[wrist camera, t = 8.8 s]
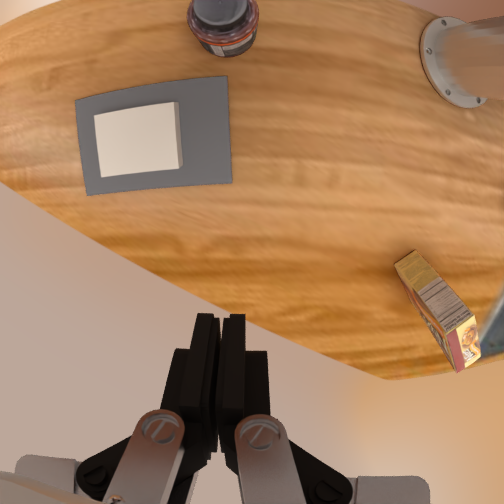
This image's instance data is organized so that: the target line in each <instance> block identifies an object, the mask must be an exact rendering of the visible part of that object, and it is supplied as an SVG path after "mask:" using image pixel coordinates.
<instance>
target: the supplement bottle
mask: <svg viewBox="0 0 504 504" xmlns="http://www.w3.org/2000/svg"><path fill="white" fill-rule="evenodd" d="M258 19H259V9H258V5H257V3H256V1H255V0H192V2H191V3H190V5H189V8H188V11H187V21H188V24H189V27H190V29H191V30H192V32H193V34H194V35H195V36H196V37H197V38H198V40H199V41H200V43H201V44H202V45H203V46H204V48H205V49H206V50H207V51H209V52H210V53H212V54H214V55H216V56H220V57H234V56H237V55H240V54H242V53H244V52H245V51H246V50H248V49H249V48H250V47H251V45H252V44H253V42H254V40H255V37H256V31H257V26H258Z"/></svg>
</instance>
